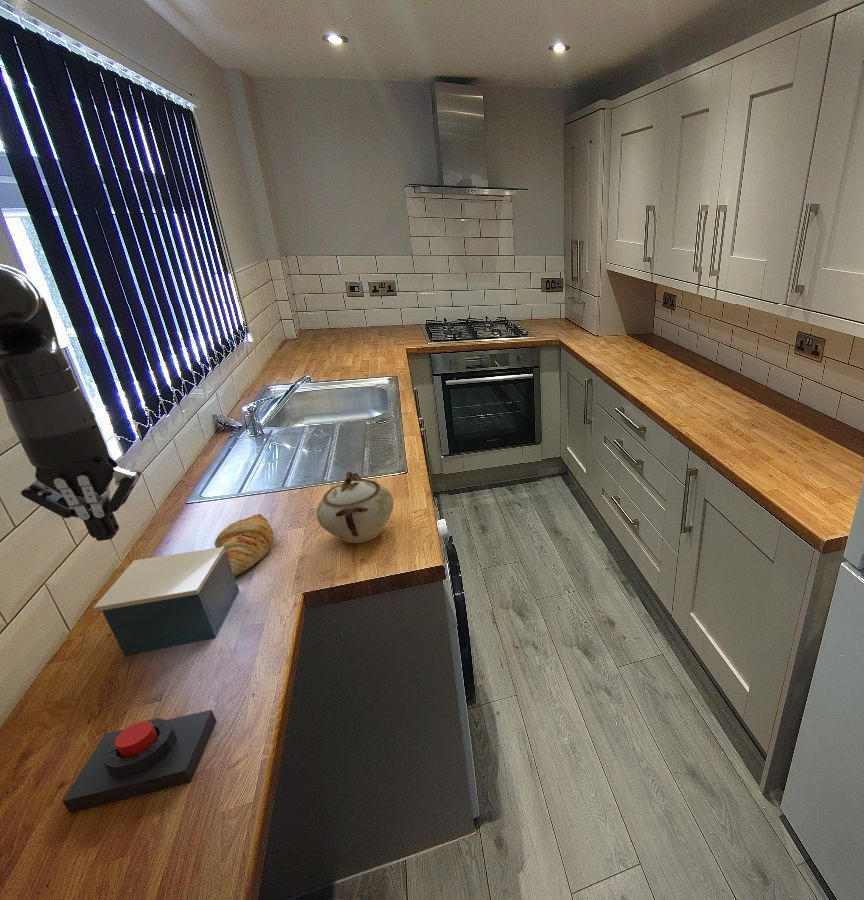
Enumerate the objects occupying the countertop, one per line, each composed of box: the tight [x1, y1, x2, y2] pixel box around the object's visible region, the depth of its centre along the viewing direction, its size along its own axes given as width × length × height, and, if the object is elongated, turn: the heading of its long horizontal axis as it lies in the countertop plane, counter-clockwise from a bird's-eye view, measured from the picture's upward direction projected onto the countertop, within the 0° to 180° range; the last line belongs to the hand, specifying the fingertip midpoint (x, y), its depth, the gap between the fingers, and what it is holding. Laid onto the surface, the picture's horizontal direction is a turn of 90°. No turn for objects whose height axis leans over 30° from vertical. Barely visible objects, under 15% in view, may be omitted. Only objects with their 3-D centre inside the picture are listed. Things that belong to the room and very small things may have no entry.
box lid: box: [92, 547, 225, 613], centre depth 86 cm, size 13×13×1 cm
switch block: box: [62, 709, 217, 814], centre depth 65 cm, size 12×9×4 cm
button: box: [115, 720, 157, 757], centre depth 64 cm, size 4×4×2 cm
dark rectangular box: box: [101, 551, 240, 656], centre depth 88 cm, size 13×13×9 cm
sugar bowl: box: [316, 471, 394, 544], centre depth 111 cm, size 20×15×15 cm
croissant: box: [213, 513, 274, 577], centre depth 107 cm, size 21×10×8 cm, turn 20°
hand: (108, 537), depth 76 cm, fingers closed
